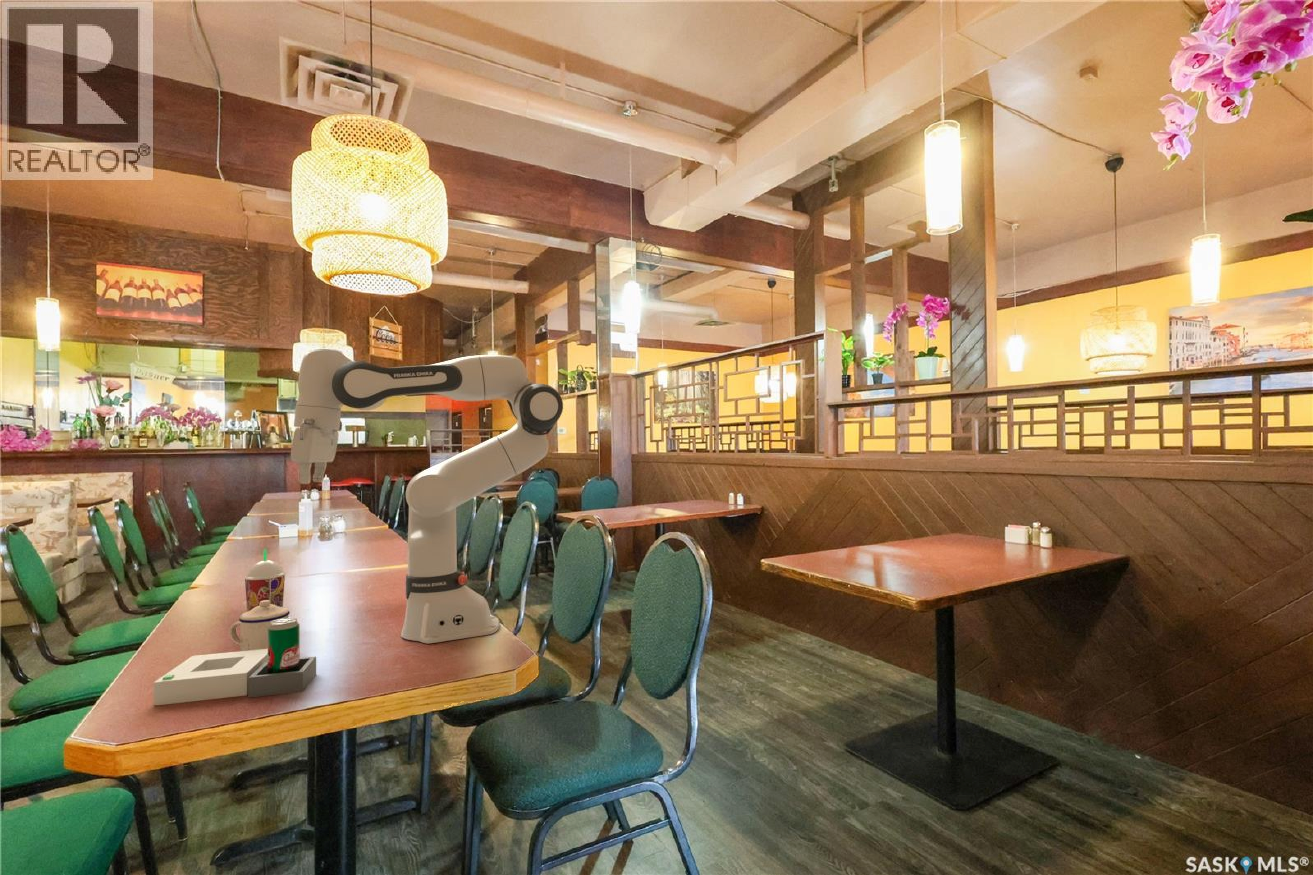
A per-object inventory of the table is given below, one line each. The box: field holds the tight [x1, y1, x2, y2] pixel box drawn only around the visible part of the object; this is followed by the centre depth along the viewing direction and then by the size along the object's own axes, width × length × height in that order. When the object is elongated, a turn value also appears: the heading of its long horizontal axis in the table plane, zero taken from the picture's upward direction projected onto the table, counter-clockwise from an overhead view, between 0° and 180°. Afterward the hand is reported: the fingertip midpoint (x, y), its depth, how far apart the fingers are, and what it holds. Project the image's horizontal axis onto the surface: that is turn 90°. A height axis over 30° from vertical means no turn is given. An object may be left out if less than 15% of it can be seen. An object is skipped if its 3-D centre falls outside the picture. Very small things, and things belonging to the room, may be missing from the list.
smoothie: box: [244, 548, 286, 612], centre depth 146 cm, size 8×8×20 cm
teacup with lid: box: [229, 600, 290, 651], centre depth 128 cm, size 12×9×12 cm
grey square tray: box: [248, 655, 317, 699], centre depth 111 cm, size 9×9×4 cm
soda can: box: [268, 617, 301, 674], centre depth 111 cm, size 5×5×12 cm
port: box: [153, 649, 268, 707], centre depth 111 cm, size 14×14×4 cm
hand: (311, 482), depth 132 cm, fingers open, 8 cm apart
